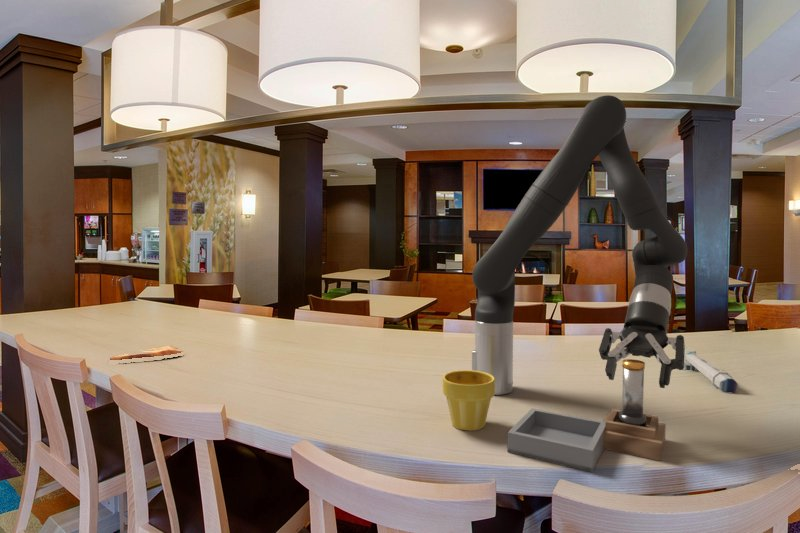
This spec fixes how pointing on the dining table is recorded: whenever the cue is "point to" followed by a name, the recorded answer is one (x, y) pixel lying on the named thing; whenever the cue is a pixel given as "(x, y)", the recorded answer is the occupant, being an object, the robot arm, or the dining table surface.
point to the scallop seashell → (157, 352)
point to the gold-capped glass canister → (633, 393)
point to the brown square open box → (635, 436)
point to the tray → (558, 439)
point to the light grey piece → (709, 371)
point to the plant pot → (468, 397)
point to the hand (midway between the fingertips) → (635, 381)
